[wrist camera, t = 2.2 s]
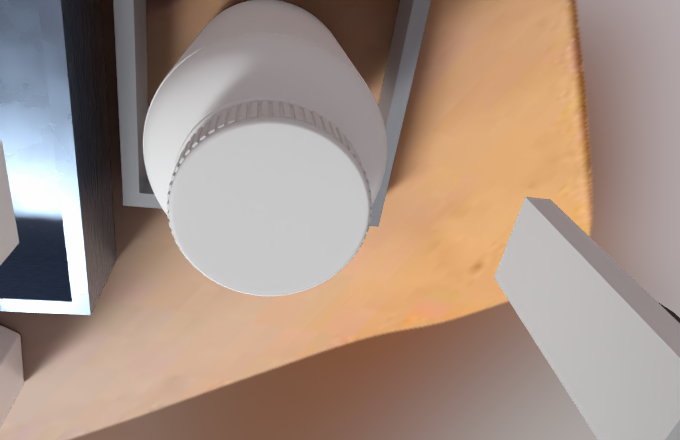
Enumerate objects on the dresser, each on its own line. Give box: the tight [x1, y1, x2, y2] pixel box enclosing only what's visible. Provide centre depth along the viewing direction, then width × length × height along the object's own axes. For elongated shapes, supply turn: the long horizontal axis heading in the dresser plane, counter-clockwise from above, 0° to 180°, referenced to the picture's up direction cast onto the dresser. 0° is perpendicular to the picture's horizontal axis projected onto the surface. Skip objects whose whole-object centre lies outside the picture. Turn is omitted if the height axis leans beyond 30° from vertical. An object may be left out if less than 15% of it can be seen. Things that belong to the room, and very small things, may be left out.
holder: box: [113, 0, 431, 227], centre depth 25 cm, size 14×14×2 cm
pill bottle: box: [143, 0, 387, 296], centre depth 19 cm, size 8×8×15 cm
